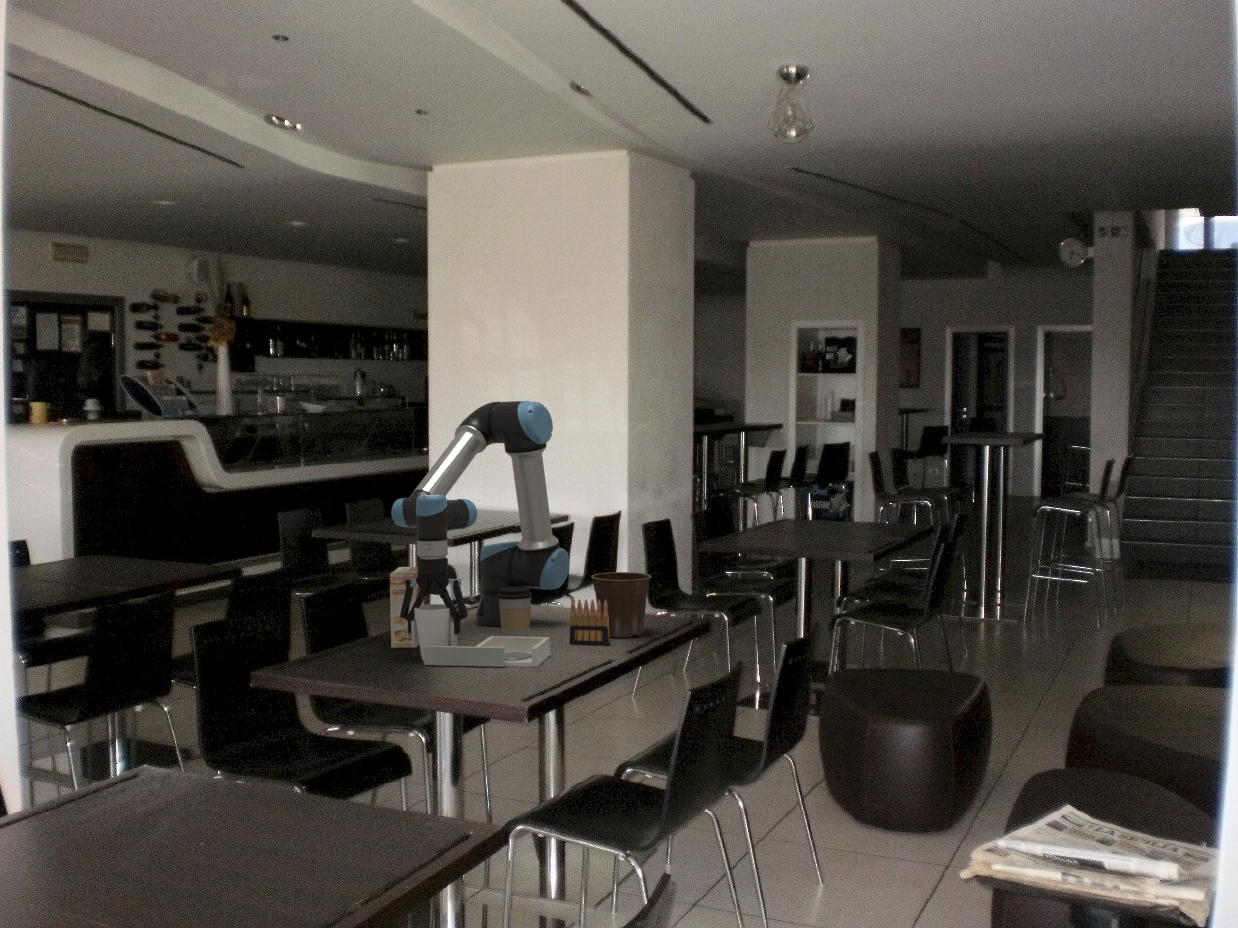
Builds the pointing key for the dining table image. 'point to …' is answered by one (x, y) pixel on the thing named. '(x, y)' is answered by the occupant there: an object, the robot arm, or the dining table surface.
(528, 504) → the robot arm
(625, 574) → the plant pot
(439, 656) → the gate
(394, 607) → the coffeecake box
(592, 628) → the ammunition clip
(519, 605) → the coffee cup
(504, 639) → the housing
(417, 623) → the foam cup
